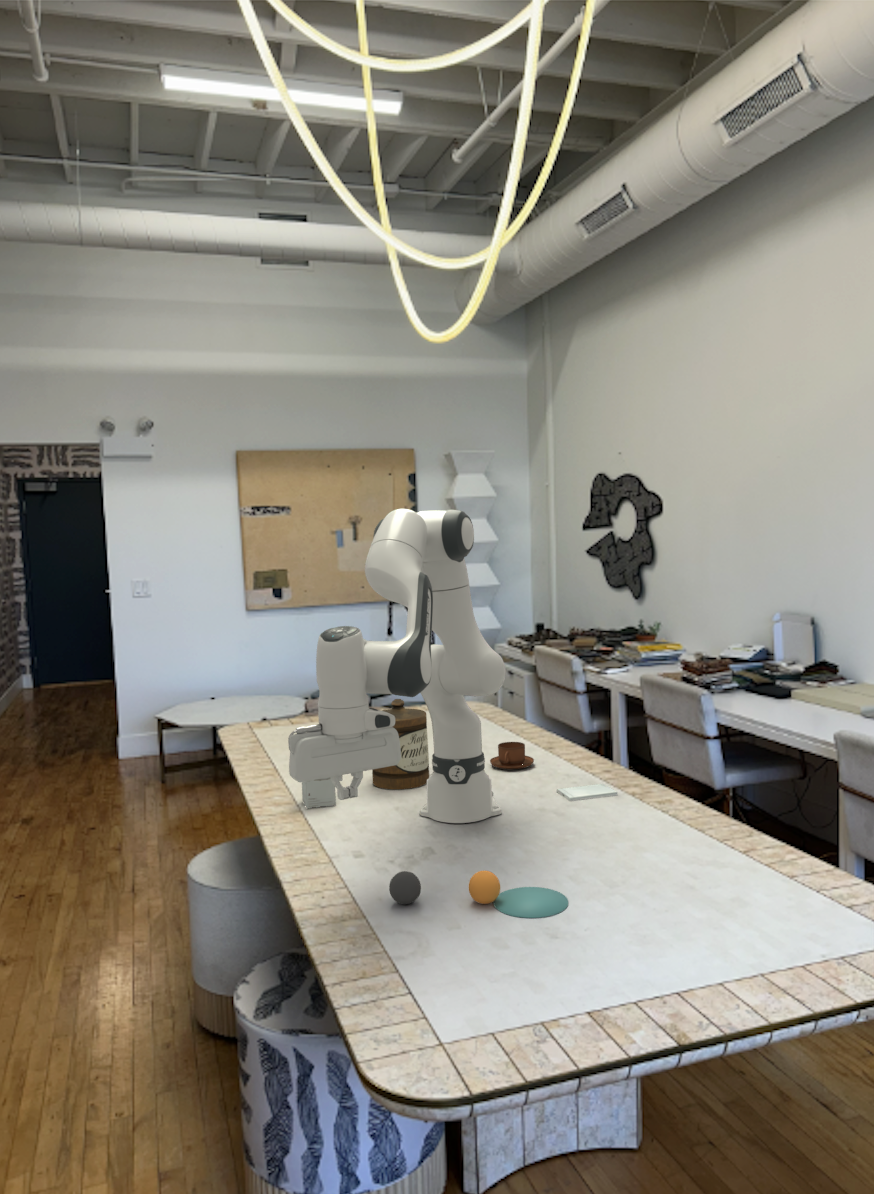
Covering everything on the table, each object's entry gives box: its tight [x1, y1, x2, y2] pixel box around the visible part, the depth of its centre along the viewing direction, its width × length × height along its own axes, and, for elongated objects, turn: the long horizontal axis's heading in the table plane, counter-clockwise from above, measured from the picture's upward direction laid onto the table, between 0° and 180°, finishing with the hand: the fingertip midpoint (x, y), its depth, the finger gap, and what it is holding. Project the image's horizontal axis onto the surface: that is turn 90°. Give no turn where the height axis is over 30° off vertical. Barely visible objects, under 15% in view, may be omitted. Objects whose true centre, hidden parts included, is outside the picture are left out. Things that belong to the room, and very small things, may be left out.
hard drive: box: [556, 783, 618, 802], centre depth 225 cm, size 2×8×12 cm
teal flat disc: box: [493, 886, 569, 919], centre depth 161 cm, size 13×13×1 cm
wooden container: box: [371, 698, 430, 791], centre depth 240 cm, size 15×15×22 cm
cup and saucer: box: [489, 741, 535, 771], centre depth 253 cm, size 12×12×6 cm
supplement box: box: [301, 777, 337, 809], centre depth 224 cm, size 7×7×13 cm
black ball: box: [388, 870, 422, 905], centre depth 163 cm, size 6×6×6 cm
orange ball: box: [467, 870, 501, 905], centre depth 162 cm, size 6×6×6 cm
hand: (347, 797), depth 162 cm, fingers closed
